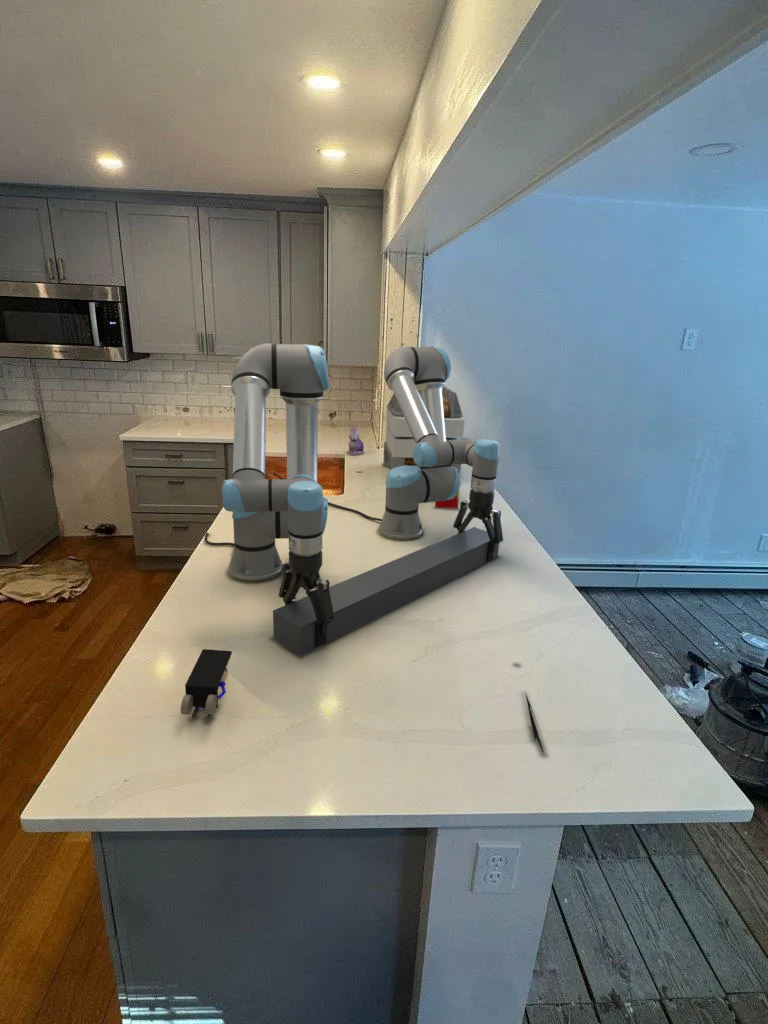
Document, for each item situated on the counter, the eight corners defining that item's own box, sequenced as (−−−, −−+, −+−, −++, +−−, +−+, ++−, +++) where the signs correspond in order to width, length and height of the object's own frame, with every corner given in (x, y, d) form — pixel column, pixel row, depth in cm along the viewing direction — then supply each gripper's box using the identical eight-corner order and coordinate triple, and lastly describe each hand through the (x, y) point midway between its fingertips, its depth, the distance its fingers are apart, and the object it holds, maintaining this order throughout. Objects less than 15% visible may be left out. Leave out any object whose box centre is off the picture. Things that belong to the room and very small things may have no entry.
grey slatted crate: (382, 463, 289) (386, 382, 275) (445, 464, 293) (451, 384, 279) (390, 482, 257) (394, 392, 243) (460, 483, 261) (468, 394, 247)
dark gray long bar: (472, 547, 191) (474, 526, 188) (497, 557, 184) (500, 535, 182) (273, 637, 134) (272, 610, 132) (300, 656, 128) (300, 627, 125)
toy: (452, 466, 252) (464, 476, 223) (451, 496, 255) (462, 509, 226) (425, 465, 252) (433, 475, 222) (424, 495, 254) (431, 508, 225)
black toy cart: (217, 731, 106) (235, 675, 120) (214, 701, 103) (232, 647, 116) (181, 730, 106) (203, 674, 119) (176, 700, 103) (199, 646, 116)
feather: (517, 669, 129) (522, 662, 128) (543, 757, 102) (550, 750, 102) (511, 665, 129) (516, 659, 128) (535, 752, 102) (542, 745, 101)
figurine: (351, 455, 300) (352, 427, 295) (343, 451, 309) (344, 424, 304) (367, 454, 304) (368, 426, 299) (359, 450, 313) (360, 423, 308)
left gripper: (261, 539, 132) (264, 622, 139) (326, 572, 117) (325, 663, 125) (287, 531, 137) (288, 611, 145) (352, 562, 122) (349, 649, 130)
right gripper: (445, 483, 180) (440, 547, 188) (507, 502, 166) (498, 570, 174) (459, 479, 186) (453, 541, 193) (520, 496, 171) (511, 563, 179)
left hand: (305, 635), depth 135 cm, fingers closed on dark gray long bar, 10 cm apart
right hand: (475, 555), depth 183 cm, fingers closed on dark gray long bar, 10 cm apart
